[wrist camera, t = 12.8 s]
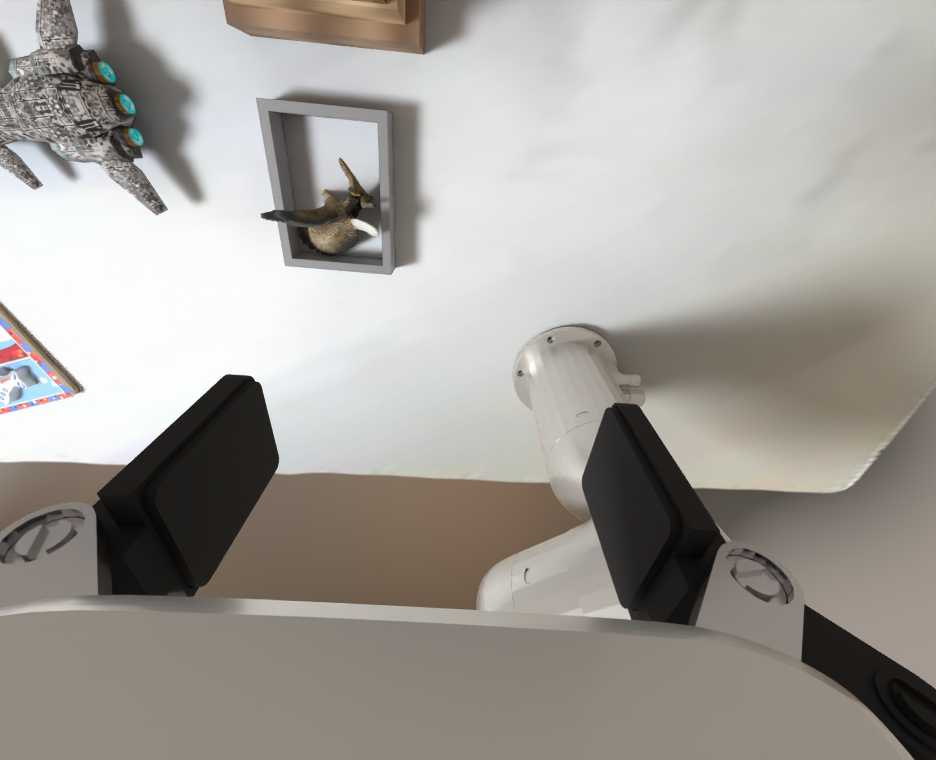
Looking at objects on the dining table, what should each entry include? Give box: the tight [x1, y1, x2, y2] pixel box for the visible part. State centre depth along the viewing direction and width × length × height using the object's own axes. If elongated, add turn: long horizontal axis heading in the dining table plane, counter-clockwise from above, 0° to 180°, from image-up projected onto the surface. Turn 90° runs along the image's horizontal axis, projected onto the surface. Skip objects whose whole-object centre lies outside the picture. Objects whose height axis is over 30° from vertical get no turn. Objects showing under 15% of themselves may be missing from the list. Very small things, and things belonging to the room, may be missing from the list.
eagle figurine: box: [261, 158, 379, 256], centre depth 35 cm, size 8×7×9 cm
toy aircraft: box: [0, 0, 168, 215], centre depth 31 cm, size 16×20×5 cm
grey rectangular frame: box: [256, 98, 395, 275], centre depth 35 cm, size 11×14×2 cm
